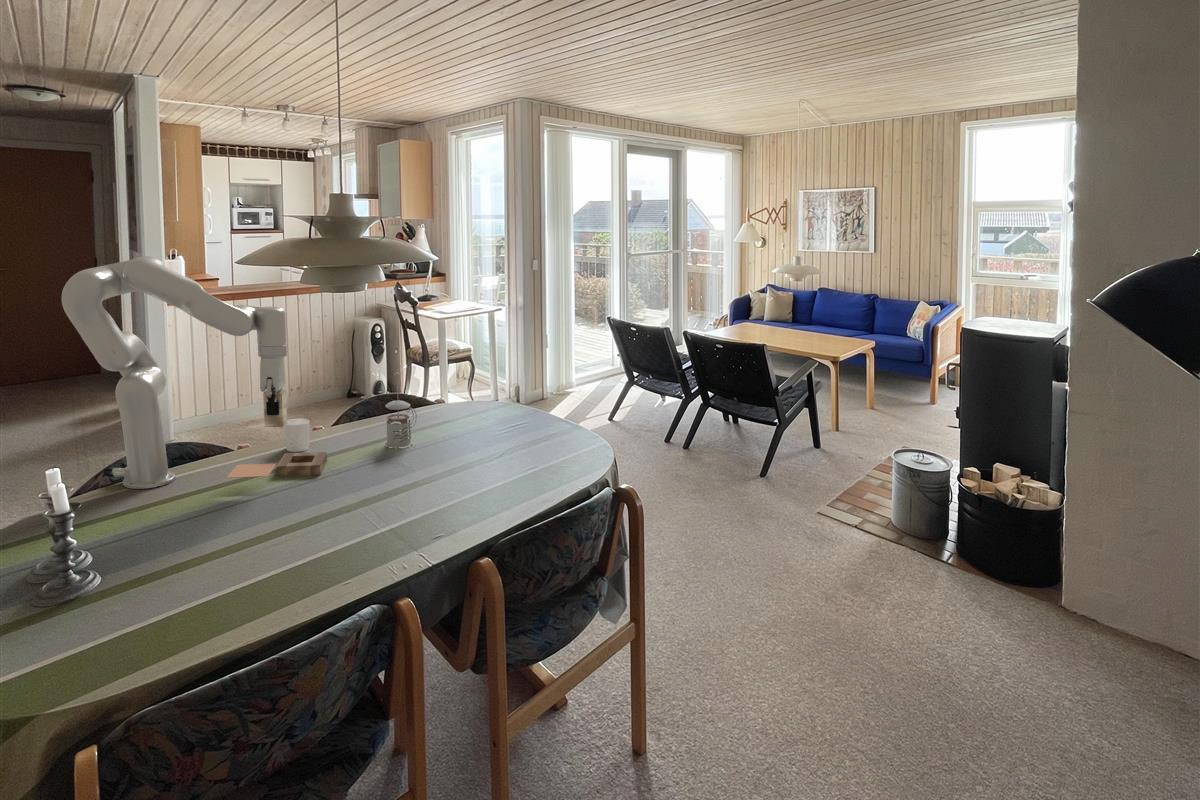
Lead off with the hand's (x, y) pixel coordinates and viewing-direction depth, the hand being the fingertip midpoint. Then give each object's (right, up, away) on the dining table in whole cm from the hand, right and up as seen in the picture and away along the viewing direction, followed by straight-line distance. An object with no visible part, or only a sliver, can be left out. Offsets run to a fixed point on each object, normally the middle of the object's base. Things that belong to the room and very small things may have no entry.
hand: (275, 411), depth 210 cm
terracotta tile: (-8, -18, +3) cm, 20 cm away
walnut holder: (+6, -18, +6) cm, 20 cm away
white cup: (-3, -13, +24) cm, 28 cm away
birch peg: (0, -4, +1) cm, 4 cm away
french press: (+27, -12, +35) cm, 46 cm away
